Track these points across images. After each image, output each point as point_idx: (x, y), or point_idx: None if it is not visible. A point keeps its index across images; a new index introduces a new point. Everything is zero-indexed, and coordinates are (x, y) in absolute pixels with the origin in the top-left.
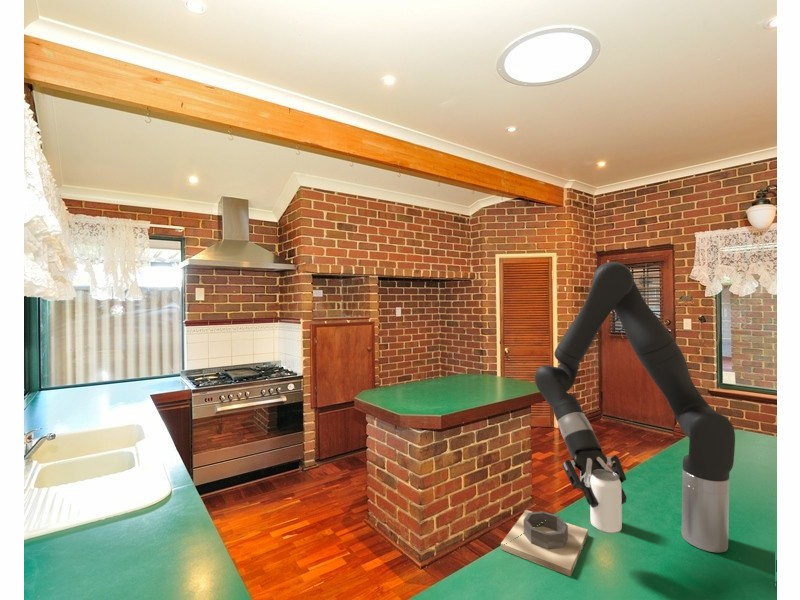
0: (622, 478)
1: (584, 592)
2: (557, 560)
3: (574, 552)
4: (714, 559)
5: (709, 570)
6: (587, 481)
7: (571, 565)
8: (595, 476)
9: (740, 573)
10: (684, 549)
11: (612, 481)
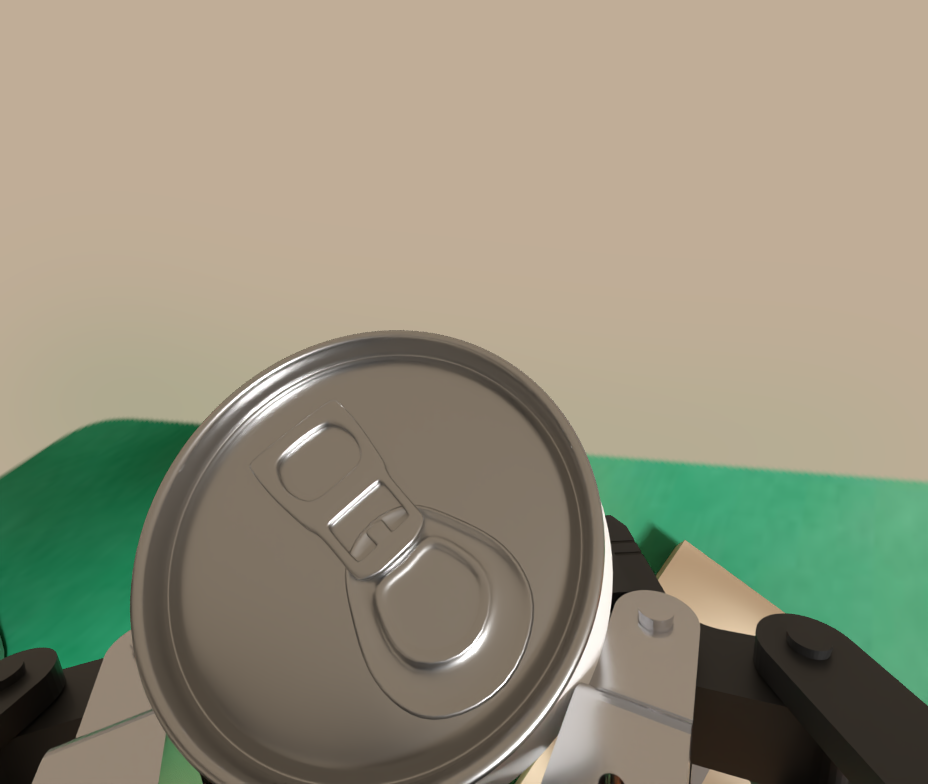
0: (36, 671)
1: (648, 463)
2: (731, 612)
3: None
4: (33, 578)
5: (123, 522)
6: (644, 655)
7: (671, 567)
8: (591, 470)
9: (46, 497)
10: (66, 661)
11: (395, 345)
